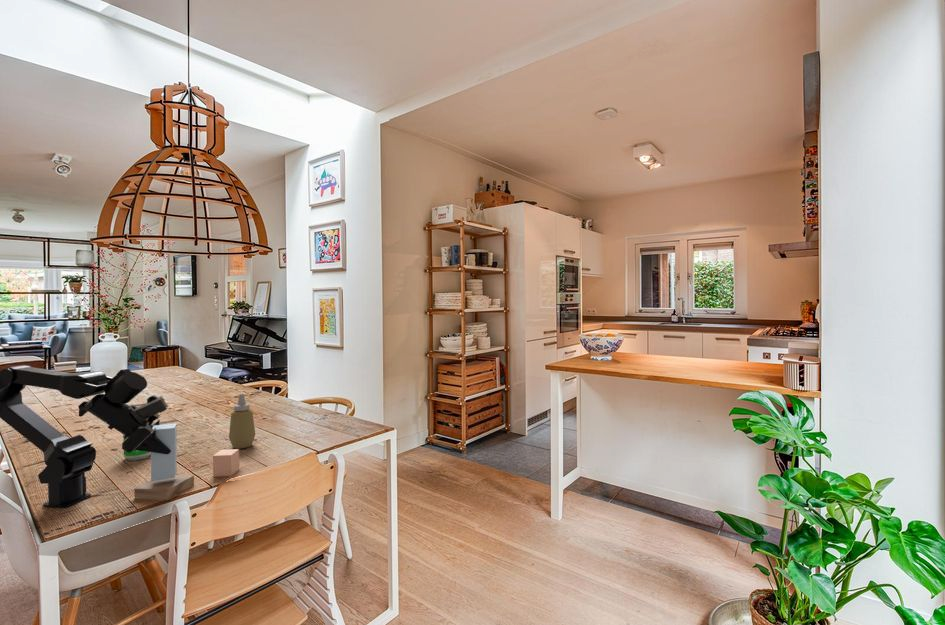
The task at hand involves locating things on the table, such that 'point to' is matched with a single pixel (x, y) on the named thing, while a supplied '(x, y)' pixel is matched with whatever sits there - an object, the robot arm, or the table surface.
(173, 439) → the blue pillar
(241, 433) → the squeeze bottle
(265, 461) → the table surface
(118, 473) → the table surface
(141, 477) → the table surface
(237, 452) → the terracotta block
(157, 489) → the walnut slab
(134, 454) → the soda can
